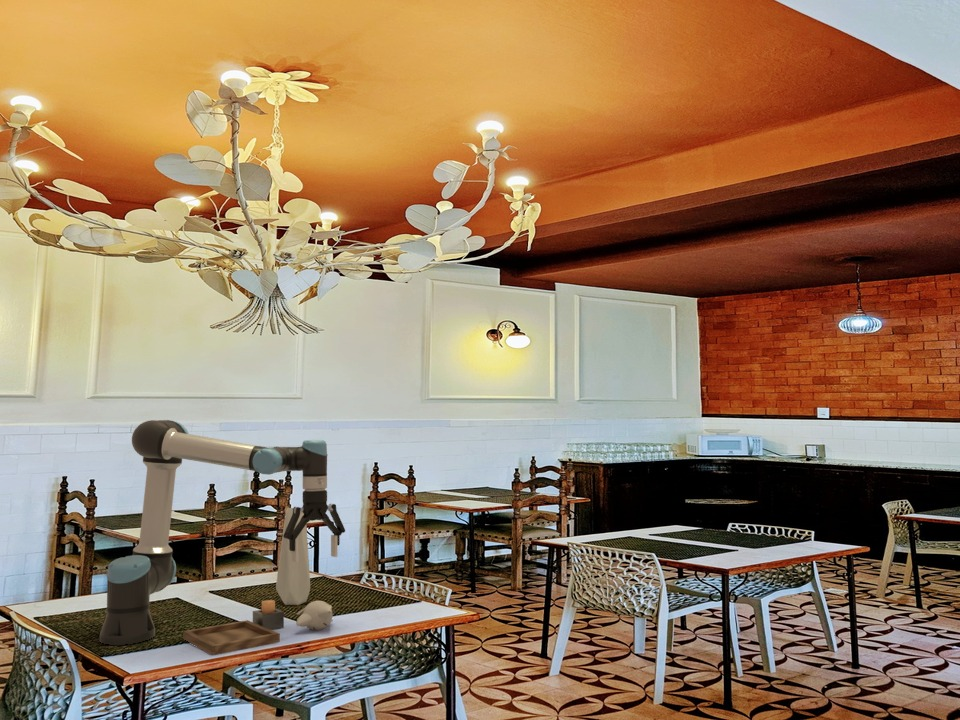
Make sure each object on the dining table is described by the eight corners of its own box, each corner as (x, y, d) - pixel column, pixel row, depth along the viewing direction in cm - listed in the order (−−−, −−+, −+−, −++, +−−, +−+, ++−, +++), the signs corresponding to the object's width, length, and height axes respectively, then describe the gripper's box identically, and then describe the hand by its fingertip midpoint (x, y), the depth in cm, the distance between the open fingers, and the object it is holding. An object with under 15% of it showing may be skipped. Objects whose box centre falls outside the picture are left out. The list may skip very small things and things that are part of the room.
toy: (306, 638, 259) (293, 639, 245) (297, 611, 262) (284, 610, 247) (345, 621, 260) (335, 622, 246) (336, 594, 263) (325, 593, 248)
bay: (212, 655, 225) (212, 646, 225) (183, 639, 242) (183, 631, 242) (279, 642, 238) (279, 633, 238) (247, 628, 255) (247, 620, 255)
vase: (300, 608, 282) (301, 510, 284) (271, 605, 286) (272, 510, 288) (319, 600, 293) (319, 507, 296) (291, 598, 297) (291, 506, 300)
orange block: (265, 620, 252) (265, 603, 253) (259, 617, 255) (259, 601, 256) (277, 617, 255) (277, 601, 255) (271, 615, 258) (271, 599, 258)
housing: (262, 631, 250) (262, 615, 250) (252, 627, 255) (252, 611, 256) (283, 627, 255) (283, 611, 255) (273, 623, 260) (273, 607, 260)
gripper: (283, 493, 245) (283, 565, 244) (355, 487, 261) (356, 555, 260) (272, 491, 251) (272, 562, 249) (343, 486, 267) (343, 553, 266)
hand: (314, 559), depth 255 cm, fingers open, 13 cm apart
